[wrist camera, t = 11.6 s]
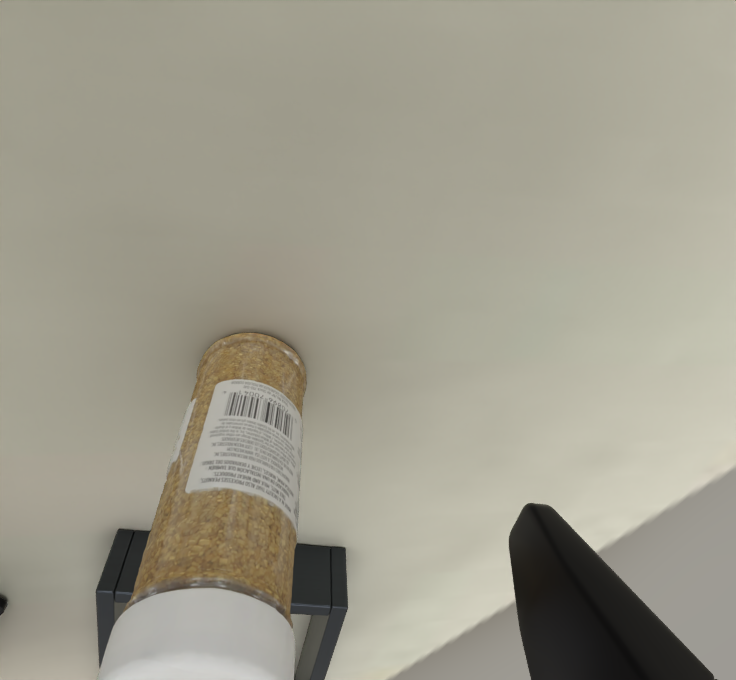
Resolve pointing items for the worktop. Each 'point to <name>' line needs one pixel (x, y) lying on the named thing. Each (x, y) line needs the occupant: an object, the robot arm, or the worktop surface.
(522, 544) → the robot arm
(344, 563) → the rectangular frame
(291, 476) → the sprinkles bottle
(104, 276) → the worktop surface
